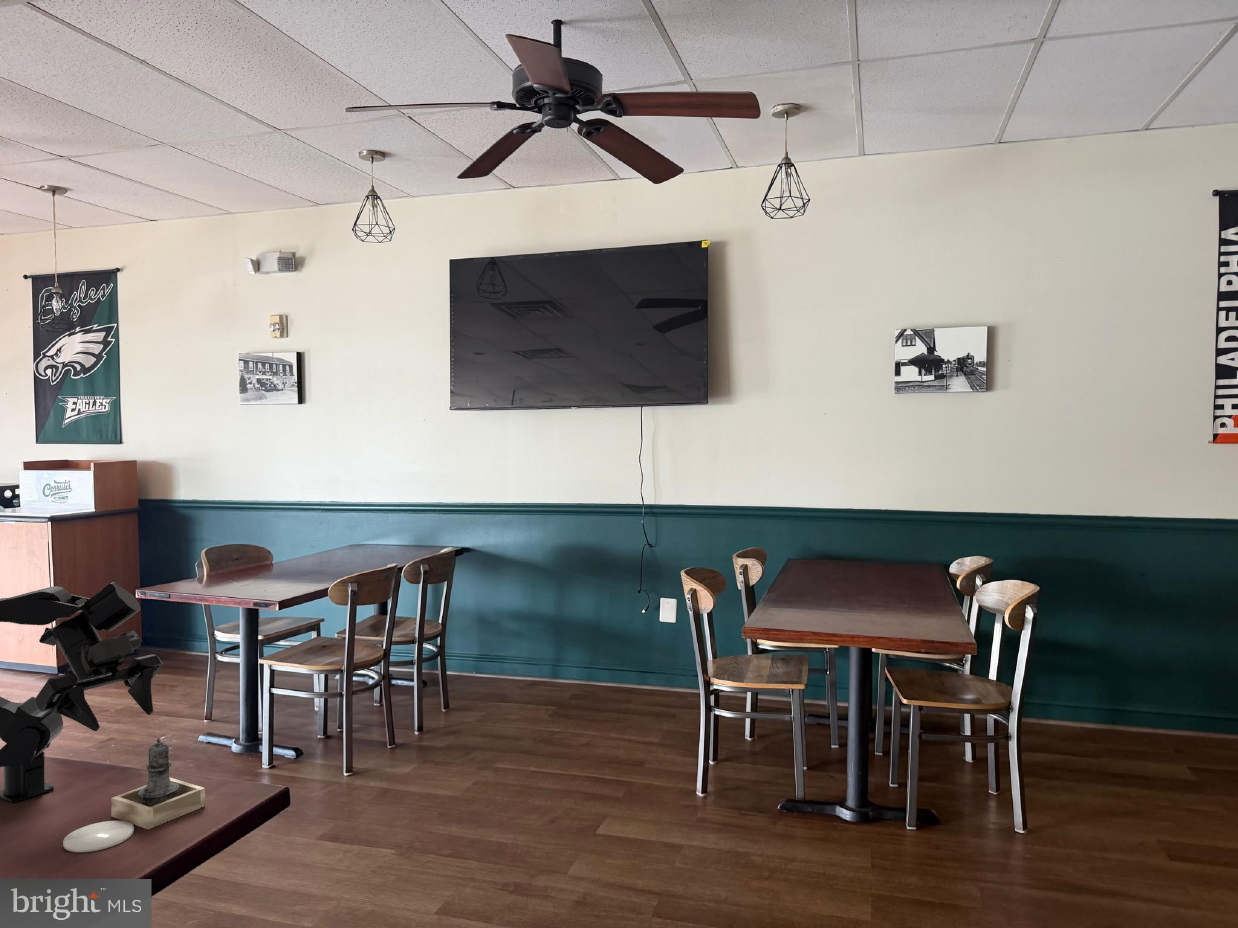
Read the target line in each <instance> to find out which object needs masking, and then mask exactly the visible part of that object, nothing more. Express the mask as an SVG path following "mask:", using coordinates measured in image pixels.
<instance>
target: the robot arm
mask: <svg viewBox="0 0 1238 928" xmlns="http://www.w3.org/2000/svg"><path fill="white" fill-rule="evenodd" d="M140 611H141V605H140V603H139V601H138V600H137V598H136V597H135V596H134V595H133V594H132V593H131V592H129V591H128V590H126V589H125V588H123V587H121V586H119V585H118V584H117V583H116V582H115V581H112V582H110V583H108V584H107V585H105V586H104V587H103V588H102V590H100V591H99V592H97V593H96V594H95V595H93V596H91V597H90V598H89V597H86V596H79V595H77V594H71V593H70V591H68V590H67V589H66V588H64V587H63V586H49V587H46V588H41V589H37V590H33V591H29V592H25V593H22V594H18V595H14V596H10V597H9V596H8V597H2V598H1V597H0V623H11V624H15V625H16V624H17V625H29V626H30V625H31V626H47V625H50V624H51V623H55V621H58V620H60V619H63V620H62V621H60V622H59V623H58V624H56V625H55V626H53V627H51V628H50V627H45V628H44V632H43V634H42V635H40V638H39V640H38V642H39V643H41V644H44V645H48V646H52V647H54V646H56V645H58V647H59V649H60V651H61V652H62V655H63V657H64V659H65V660H66V663H65V665H64V666H63V667H64V669H65V670H66V672H69V671H72V672H73V673H66V674H62V675H58V676H54V677H49V678H48V679H47V681H46V682H45V683H44V685H43V686H42V688H41V689H40V690H39V692H38V694H37V695H36V697H35V696H31V697H30V698H28V699H27V700H26V701H24V702H23V703H22V702H14V701H11V700H8V699H6V698H4V697H2V696H0V740H1V741H3V742H4V743H5V745H3V746H2V747H1V748H0V768H3V788H2V789H1V790H0V799H1V800H5V801H8V802H9V803H17V802H20V801H24V800H26V799H30V798H32V797H35V796H38V795H41V794H44V793H48V792H50V791H53V790H55V785H52V784H51V783H50V784H49V783H46V782H45V781H46V778H45V777H46V775H45V774H46V772H45V771H46V767H45V766H46V765H45V764H46V763H45V762H46V760H45V759H46V757H45V755H46V754H45V752H44V751H45V750H46V749H48V748H49V747H51V746H50V745H51V743H52V742H53V741H54V740H55V739H56V738H57V737H58V736H59V735H60V734H61V733H62V731H63V728H64V720H63V716H64V717H66V718H68V719H70V720H73V721H75V722H77V723H79V724H81V725H82V726H84V727H86V728H88V729H90V730H91V731H93V732H97V731H98V730H100V728H101V727H100V724H99V721H98V718H97V717H96V715H95V714H94V711H93V710H92V708H91V706H90V705H89V703H88V701H87V700H86V697H85V691H88V690H92V689H96V688H100V687H105V686H107V685H108V686H109V685H112V684H115V683H119V682H123V684H124V685H125V687H128V690H127V693H128V694H129V695H130V696H131V698H133V700H134V701H135V702H136V704H137V705H138V706H139V707H140V709H141V710H143V712H145V714H146V715H147V716H151V714H153V712H154V706H153V705H154V704H153V697H152V680H153V678H154V677H155V676H156V674H157V673H159V670H160V669H161V668H162V666H163V665H164V663H163V662H162V660H161V659H160V657H159V656H158V655H157V654H149V655H144V656H139V657H135V658H134V659H133V660H132V661H131V663H129V665H128V666H127V667H126V668H121V669H119V668H118V667H119V666H122V664H124V662H125V660H124V657H126V656H128V655H132V654H134V653H135V652H134V651H135V650H136V649H138V648H141V647H140V646H141V645H142V643H141V639H140V636H139V635H138V634H137V632H136V631H135V630H134V629H133V630H128V631H124V632H123V633H120V634H119V636H115V637H109V638H106V639H103V640H102V639H101V636H100V635H99V633H98V632H97V631H100V632H101V631H103V630H105V631H106V632H107V631H108V632H112V631H113V630H115V629H116V628H117V627H119V626H120V625H121V624H123V623H124V622H126V621H127V620H128V619H130V618H132V617H133V616H134V615H136V614H138V612H140ZM72 616H74V617H72Z"/></svg>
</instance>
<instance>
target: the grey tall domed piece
mask: <svg viewBox="0 0 1238 928" xmlns="http://www.w3.org/2000/svg"><path fill="white" fill-rule="evenodd" d="M161 741H162V739H160V737H158V738H157V739H156V740H155V743H154V744H152V745H151V746H150V747H149V749H148V765H147V766H146V767H145V770H146V771H147V772H148V773H147V784H146V785H147V786H146V787H144V788H142V789H141V790H140V791H139V792H138V795H139V796H140V800H141V802H142V804H143V805H145V806H148V807H152V806H154V805H157V804H160V803H162V802H165V801H167V800H170V799H172V798H175V797H176V794H177V790H178V789H179V785H178V784H177V783H173V782H171V781H170V778H171V777H170V767H171V766H172V762H170V761H169V760H170V757H169V745H168V744H167V743H164V742H161ZM169 777H170V778H169Z"/></svg>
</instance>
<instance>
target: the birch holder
mask: <svg viewBox="0 0 1238 928" xmlns="http://www.w3.org/2000/svg"><path fill="white" fill-rule="evenodd" d="M169 778H170V781H171V782H173V783H177V784H178V785H179V789H178V790H177V794H176V797H175V798H172V799H170V800H167V801H165V802H162V803H160V804H157V805H154V806H152V807H148V806H145V805H143V804H142V802H141V800H140V796H139V795H138V792H139V791H140V790H141V789H142V788H144V787H146V786H147V784H146V785H142V786H140V787H138V788H135V789H132V790H129V791H127V792H124V793H121V794H118V795H115V796H113V797H111V798H110V800H111V801H110V802H111V812H110V813H111V816H110V817H112V818H114V819H116V820H119V821H126V822H130V823H131V824H133V825H134V824H135V825H134V826H137V827H139V828H143V829H145V830H150V829H152V828H155V827H157V826H160V825H163V824H165V823H167V821H168V822H169V821H172V820H174V819H177V818H180V817H181V816H184V815H187V814H189V813H192V812H194V811H196V810H199V809H201V807H202V808H203V807H206V788H205V787H204V786H199V785H196V784H193V783H190V782H186V781H183V780H179V779H177V778H173V777H170V776H169Z"/></svg>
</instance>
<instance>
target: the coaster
mask: <svg viewBox="0 0 1238 928" xmlns="http://www.w3.org/2000/svg"><path fill="white" fill-rule="evenodd" d="M134 826H135V825H134V824H131V823H130V822H126V821H123V820H107V821H101V822H96V823H91V824H88V825H85V826H83V827H82V826H81V827H80V828H78V829H75V830H74V831H72V832H70V833H69V834H67V835H66V836H65V837H64V839H63V842H62V843H63V844H62V846H63V849H64V850H65V851H69V852H72V853H90V852H96V851H101V850H104V849H108V848H112V847H114V846H116V845H119V844H121V843H124V842H126V841H127V840H128V839H129V838H131V837H132V836H133V834H134V832H135V829H134V828H135V827H134Z"/></svg>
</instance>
